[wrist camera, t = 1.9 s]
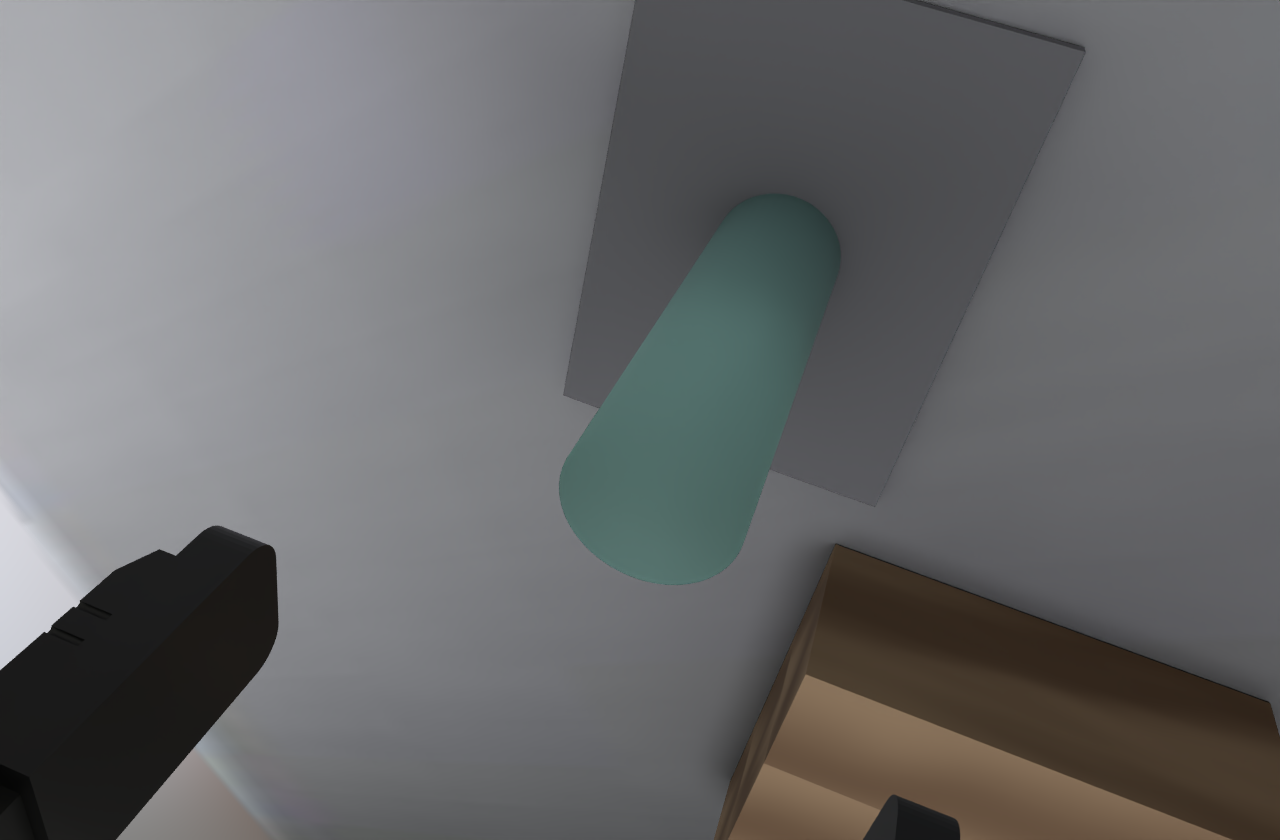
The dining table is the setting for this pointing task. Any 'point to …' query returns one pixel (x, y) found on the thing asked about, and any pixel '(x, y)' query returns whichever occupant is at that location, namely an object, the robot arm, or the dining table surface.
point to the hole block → (991, 727)
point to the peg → (705, 399)
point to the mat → (820, 191)
